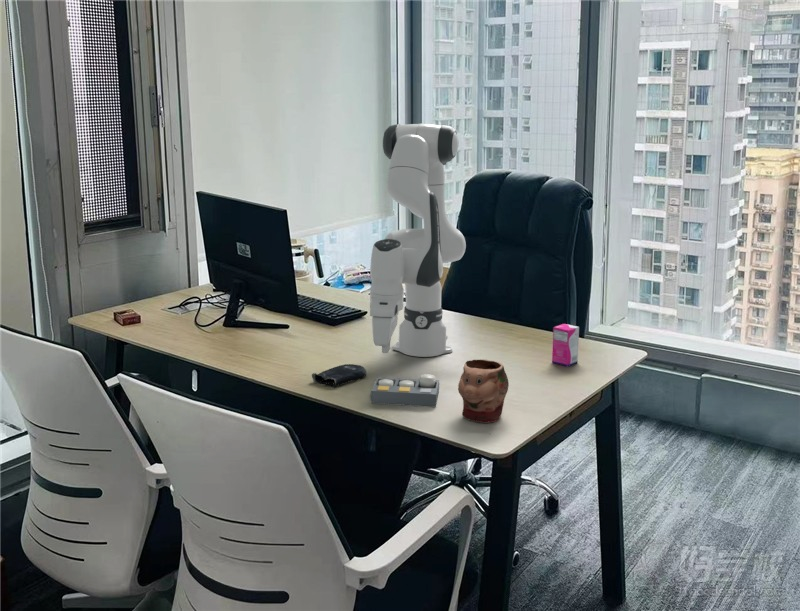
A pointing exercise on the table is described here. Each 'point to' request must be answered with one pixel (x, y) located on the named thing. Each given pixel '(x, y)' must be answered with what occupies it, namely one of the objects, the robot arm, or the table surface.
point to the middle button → (406, 383)
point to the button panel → (404, 393)
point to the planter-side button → (427, 381)
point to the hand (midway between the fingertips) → (385, 351)
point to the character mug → (483, 390)
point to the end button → (386, 382)
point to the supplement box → (565, 344)
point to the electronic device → (340, 374)
